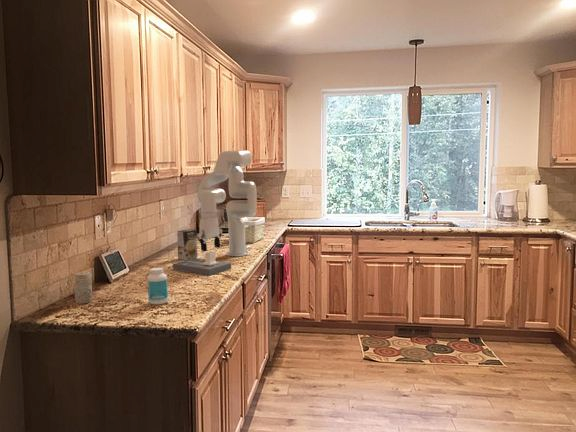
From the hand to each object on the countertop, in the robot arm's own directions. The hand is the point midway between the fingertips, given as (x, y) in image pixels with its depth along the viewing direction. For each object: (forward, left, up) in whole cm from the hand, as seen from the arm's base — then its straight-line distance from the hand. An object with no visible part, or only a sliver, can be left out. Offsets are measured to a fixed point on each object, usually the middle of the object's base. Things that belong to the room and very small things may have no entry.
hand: (210, 248), depth 244 cm
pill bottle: (+52, +19, -11) cm, 56 cm away
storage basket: (-80, -38, -11) cm, 89 cm away
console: (+1, -6, -11) cm, 12 cm away
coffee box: (-15, -32, -11) cm, 37 cm away
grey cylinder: (+67, -7, -11) cm, 68 cm away
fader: (+1, 0, -7) cm, 8 cm away
